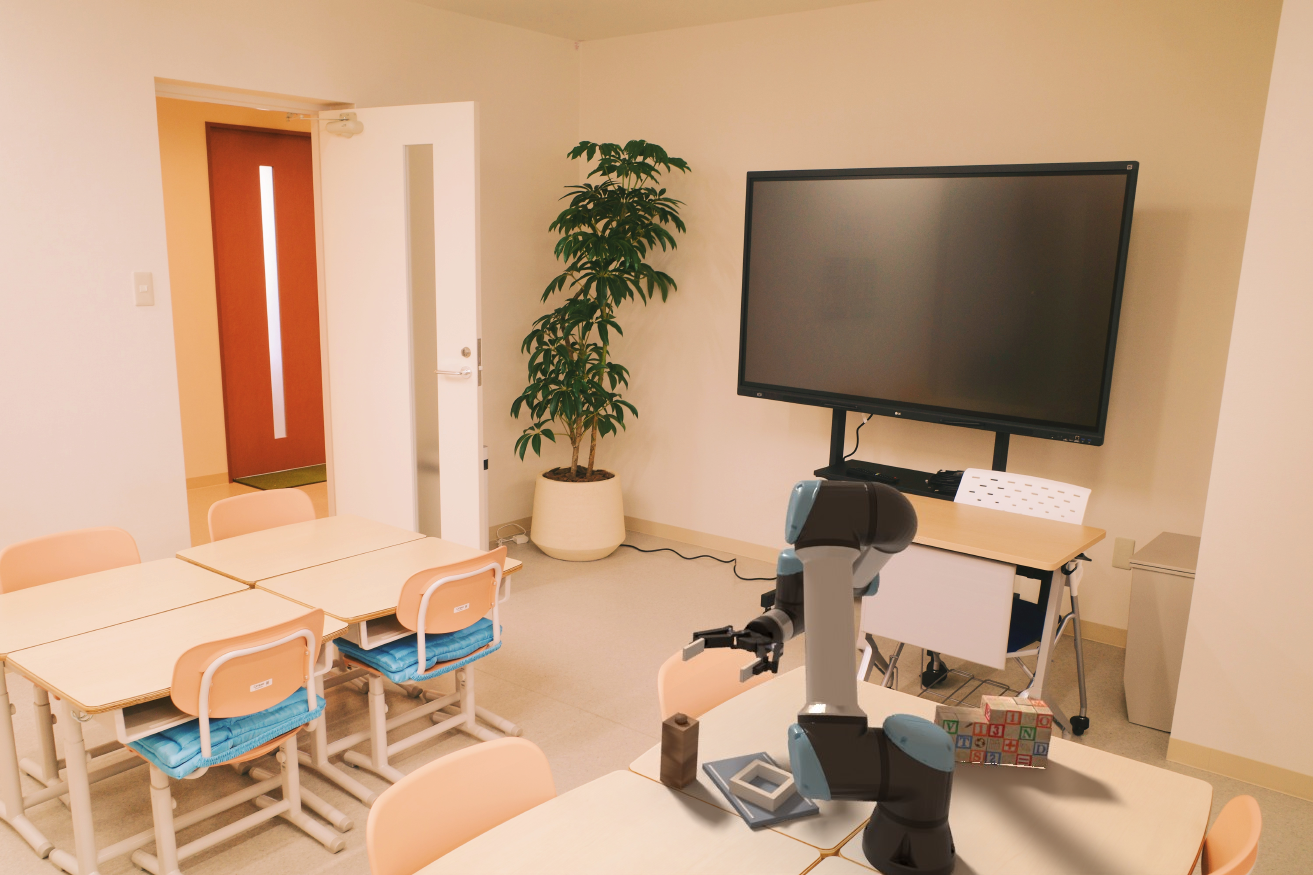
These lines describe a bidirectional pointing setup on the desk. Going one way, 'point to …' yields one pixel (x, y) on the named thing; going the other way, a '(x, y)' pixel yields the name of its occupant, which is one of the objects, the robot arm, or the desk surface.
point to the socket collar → (756, 795)
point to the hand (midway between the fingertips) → (712, 664)
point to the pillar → (679, 750)
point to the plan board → (747, 810)
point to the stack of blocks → (999, 730)
